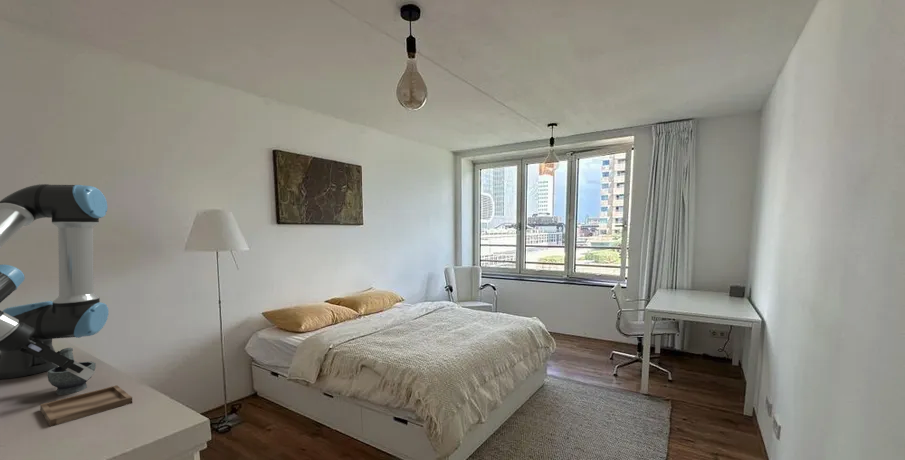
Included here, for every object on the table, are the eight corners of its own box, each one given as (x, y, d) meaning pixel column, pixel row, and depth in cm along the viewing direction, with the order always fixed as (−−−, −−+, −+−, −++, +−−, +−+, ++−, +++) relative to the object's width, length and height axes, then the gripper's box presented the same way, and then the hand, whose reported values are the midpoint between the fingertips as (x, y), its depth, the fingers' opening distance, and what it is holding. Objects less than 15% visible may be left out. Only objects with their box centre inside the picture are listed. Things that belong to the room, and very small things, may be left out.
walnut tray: (40, 410, 94) (40, 404, 94) (116, 390, 106) (116, 385, 106) (50, 426, 86) (50, 420, 86) (132, 402, 98) (132, 397, 98)
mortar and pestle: (99, 387, 109) (100, 347, 109) (55, 399, 100) (55, 356, 101) (84, 381, 114) (85, 343, 114) (41, 392, 106) (42, 351, 106)
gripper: (-20, 340, 100) (59, 377, 113) (-1, 351, 89) (85, 392, 101) (10, 317, 105) (83, 355, 118) (32, 325, 93) (110, 367, 106)
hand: (84, 372), depth 110 cm, fingers closed on mortar and pestle, 11 cm apart
